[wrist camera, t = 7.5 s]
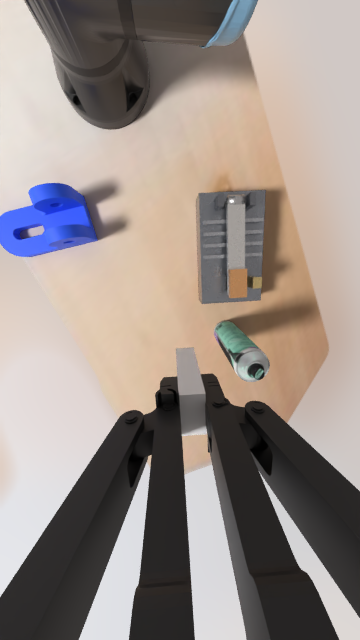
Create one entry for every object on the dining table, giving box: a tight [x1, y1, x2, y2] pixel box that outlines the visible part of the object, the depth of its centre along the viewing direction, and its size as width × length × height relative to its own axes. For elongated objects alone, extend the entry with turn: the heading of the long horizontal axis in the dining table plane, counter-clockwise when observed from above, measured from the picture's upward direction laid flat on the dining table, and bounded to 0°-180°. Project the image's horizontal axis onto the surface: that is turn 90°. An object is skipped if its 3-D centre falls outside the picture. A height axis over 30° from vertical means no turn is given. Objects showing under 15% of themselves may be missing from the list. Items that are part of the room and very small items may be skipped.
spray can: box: [214, 321, 270, 382], centre depth 40 cm, size 6×6×20 cm
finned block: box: [196, 190, 266, 304], centre depth 41 cm, size 20×12×9 cm, turn 3°
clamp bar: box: [226, 194, 247, 298], centre depth 37 cm, size 17×3×3 cm, turn 3°
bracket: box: [0, 183, 98, 257], centre depth 38 cm, size 18×8×9 cm, turn 103°
